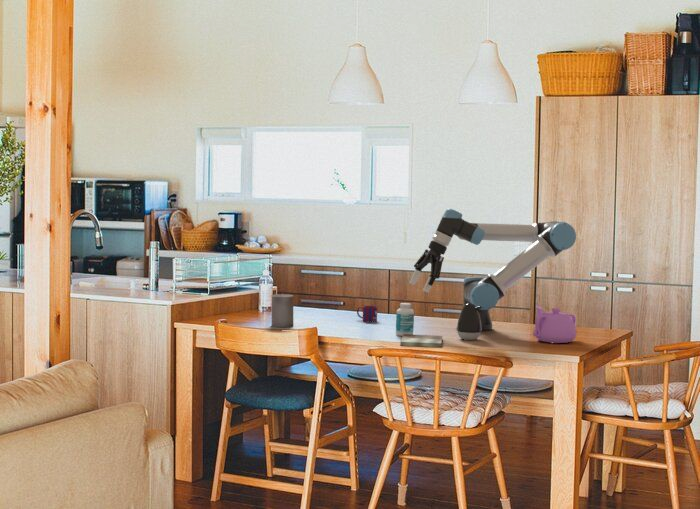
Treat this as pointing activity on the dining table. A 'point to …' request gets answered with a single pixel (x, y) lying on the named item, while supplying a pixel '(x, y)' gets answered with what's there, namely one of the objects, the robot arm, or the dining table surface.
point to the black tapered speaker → (469, 322)
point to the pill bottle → (404, 320)
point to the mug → (368, 313)
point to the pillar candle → (282, 310)
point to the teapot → (554, 326)
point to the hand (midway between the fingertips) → (418, 287)
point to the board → (421, 340)
